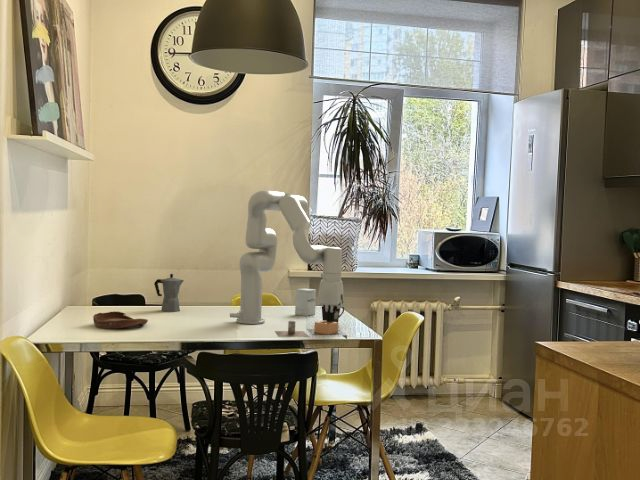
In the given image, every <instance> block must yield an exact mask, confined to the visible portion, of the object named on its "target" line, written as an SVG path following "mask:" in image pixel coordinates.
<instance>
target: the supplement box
mask: <svg viewBox="0 0 640 480" xmlns="http://www.w3.org/2000/svg"><path fill="white" fill-rule="evenodd" d="M316 295H317V289H313V288H307V287H306V288H296V289H295V306H294V308H295V309H294V313H295V314H294V315H296V316H297V315H298V316H302V317H303V316H304V317H308V316H314V315H316V299H317V296H316Z"/></svg>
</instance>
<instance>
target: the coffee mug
mask: <svg viewBox="0 0 640 480" xmlns="http://www.w3.org/2000/svg"><path fill="white" fill-rule="evenodd" d="M337 306H338V305H337ZM344 311H345V307H344V306H343V308H342V312H341V308H339V309H337V310H336V312H335V319H334V321H333V322H338V323H339V319H340V317H342V315H343V314H344ZM321 316H322V317H321V318H322V321H324V320H325V321H327V312H326V311H325V308H324V307H322V306H321Z"/></svg>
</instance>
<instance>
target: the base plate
mask: <svg viewBox="0 0 640 480" xmlns="http://www.w3.org/2000/svg"><path fill="white" fill-rule="evenodd" d="M327 324H329V323H327ZM306 330H307V331H308V332H309V334H310V335H312V336H342V337H343V338H345V339H346V340H347V339H348V335H347V334H346V333H345V332H344V331H342V330H341V329H339V328H338V332H336V333H332V334H324V333H317V332H314V328H306Z"/></svg>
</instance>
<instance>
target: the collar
mask: <svg viewBox="0 0 640 480" xmlns="http://www.w3.org/2000/svg"><path fill="white" fill-rule="evenodd" d="M327 323H329V324H327ZM313 329H314V332H317V333H324V334H332V333H336V332H338V329H339V321H338V322H327V321H325V320H324V321H323V320H320V321H315V322H314V328H313Z"/></svg>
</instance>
